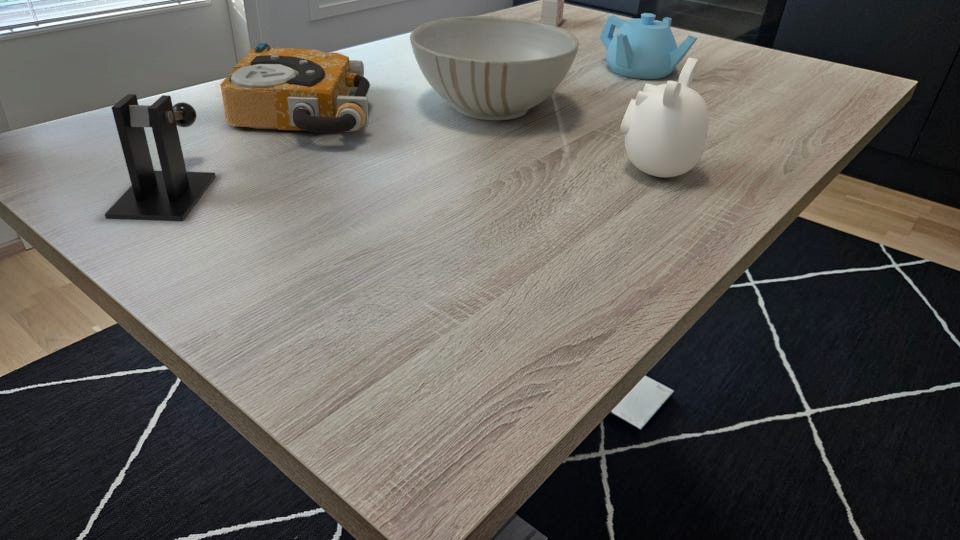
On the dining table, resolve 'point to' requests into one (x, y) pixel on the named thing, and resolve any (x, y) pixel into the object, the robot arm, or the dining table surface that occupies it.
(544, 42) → the decorative bowl
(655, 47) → the teapot
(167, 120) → the bracket
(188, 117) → the lever
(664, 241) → the dining table surface
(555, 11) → the white rectangular block
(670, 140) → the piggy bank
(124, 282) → the dining table surface
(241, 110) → the device
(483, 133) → the dining table surface
